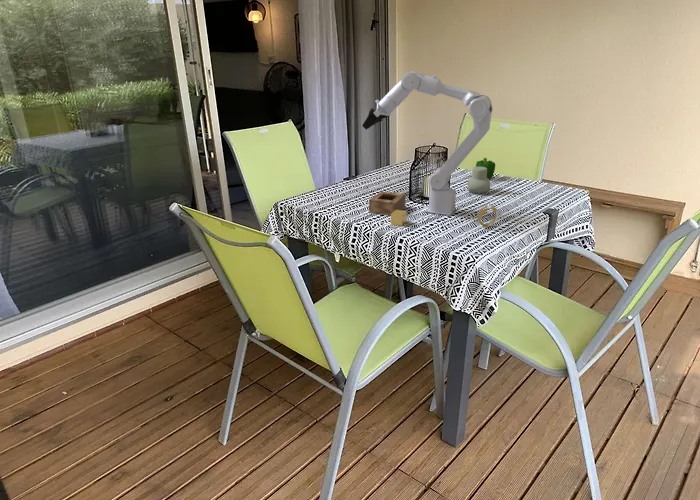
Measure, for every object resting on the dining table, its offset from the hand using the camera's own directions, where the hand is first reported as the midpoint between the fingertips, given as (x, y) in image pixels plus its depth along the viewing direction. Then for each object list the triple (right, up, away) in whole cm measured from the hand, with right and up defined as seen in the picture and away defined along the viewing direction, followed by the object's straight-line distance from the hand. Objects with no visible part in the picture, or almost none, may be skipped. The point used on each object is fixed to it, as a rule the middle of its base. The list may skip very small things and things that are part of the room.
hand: (367, 125), depth 188 cm
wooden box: (+8, -31, +5) cm, 32 cm away
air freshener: (+47, -22, +24) cm, 57 cm away
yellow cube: (+11, -36, -9) cm, 39 cm away
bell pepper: (+54, -14, +42) cm, 70 cm away
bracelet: (+40, -38, -14) cm, 57 cm away
